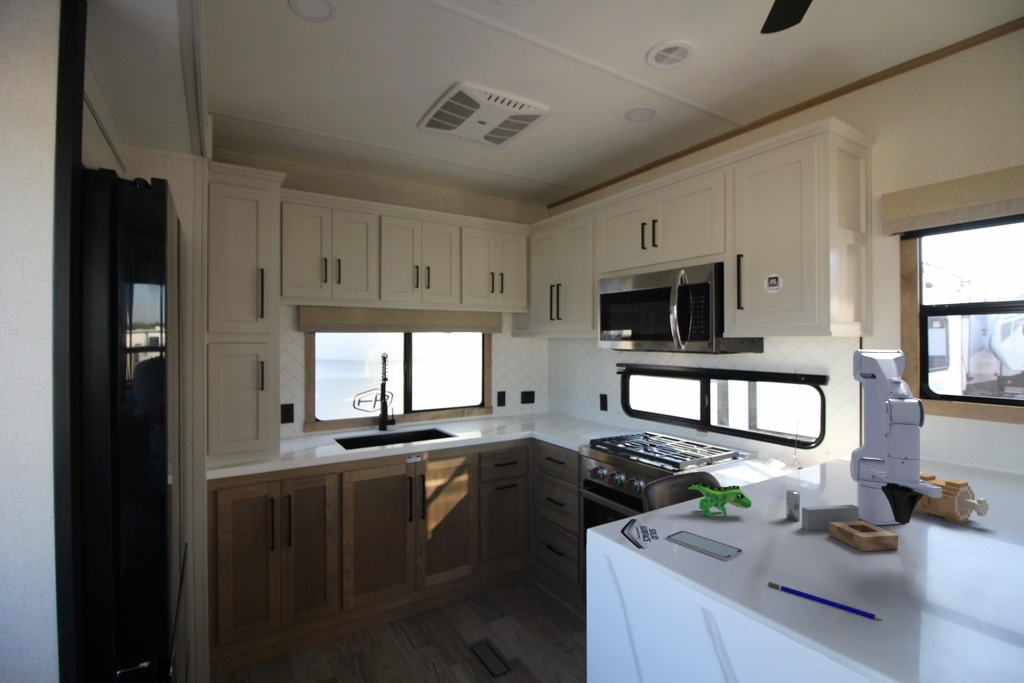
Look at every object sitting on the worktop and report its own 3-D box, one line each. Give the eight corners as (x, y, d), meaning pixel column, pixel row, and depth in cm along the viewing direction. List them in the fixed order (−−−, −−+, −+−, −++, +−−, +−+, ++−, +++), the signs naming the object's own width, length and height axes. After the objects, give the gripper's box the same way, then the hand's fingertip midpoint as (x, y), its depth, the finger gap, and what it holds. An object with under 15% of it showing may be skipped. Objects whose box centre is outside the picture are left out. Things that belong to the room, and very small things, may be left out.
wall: (852, 524, 122) (852, 504, 122) (858, 527, 120) (858, 507, 120) (801, 527, 119) (802, 507, 119) (808, 530, 117) (808, 509, 117)
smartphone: (682, 530, 116) (744, 550, 105) (682, 533, 116) (744, 554, 105) (664, 537, 112) (727, 559, 100) (664, 540, 112) (727, 563, 100)
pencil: (767, 587, 90) (767, 582, 90) (769, 586, 91) (769, 580, 91) (882, 624, 78) (882, 617, 78) (883, 622, 79) (883, 615, 79)
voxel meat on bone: (912, 503, 139) (912, 468, 139) (994, 525, 122) (994, 485, 122) (890, 508, 135) (890, 471, 135) (973, 530, 118) (973, 489, 118)
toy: (742, 531, 124) (757, 495, 124) (683, 506, 127) (697, 470, 127) (737, 523, 130) (751, 488, 130) (680, 499, 133) (693, 465, 133)
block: (862, 533, 116) (862, 520, 116) (898, 548, 107) (898, 535, 107) (828, 535, 114) (828, 522, 114) (862, 551, 105) (862, 537, 105)
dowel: (793, 517, 127) (793, 490, 127) (802, 521, 124) (802, 493, 124) (783, 517, 126) (783, 490, 126) (791, 521, 123) (792, 494, 123)
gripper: (855, 449, 108) (855, 511, 108) (920, 465, 94) (920, 536, 93) (883, 449, 109) (883, 510, 109) (951, 464, 95) (951, 534, 95)
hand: (902, 522), depth 101 cm, fingers closed
